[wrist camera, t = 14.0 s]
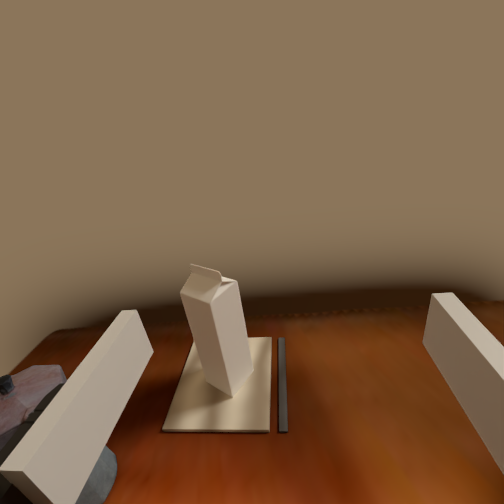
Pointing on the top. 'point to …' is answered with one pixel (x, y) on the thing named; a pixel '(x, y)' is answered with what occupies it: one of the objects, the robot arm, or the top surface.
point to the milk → (218, 328)
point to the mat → (224, 406)
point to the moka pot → (23, 404)
